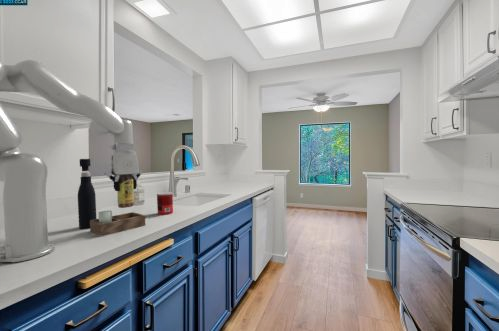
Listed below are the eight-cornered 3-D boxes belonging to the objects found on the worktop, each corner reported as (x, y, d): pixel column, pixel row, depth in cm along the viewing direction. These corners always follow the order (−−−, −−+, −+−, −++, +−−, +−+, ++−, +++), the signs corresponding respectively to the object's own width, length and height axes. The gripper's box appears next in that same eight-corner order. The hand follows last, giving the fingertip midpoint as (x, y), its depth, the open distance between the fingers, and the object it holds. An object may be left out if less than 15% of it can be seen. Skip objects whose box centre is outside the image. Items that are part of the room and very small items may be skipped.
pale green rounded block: (101, 231, 91) (101, 213, 91) (97, 229, 94) (96, 212, 94) (114, 228, 95) (113, 211, 95) (109, 226, 98) (109, 210, 98)
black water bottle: (98, 226, 102) (95, 158, 101) (80, 230, 97) (77, 158, 96) (94, 224, 106) (91, 159, 106) (77, 227, 102) (74, 159, 101)
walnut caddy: (101, 236, 88) (100, 224, 88) (90, 231, 95) (89, 220, 95) (145, 225, 102) (145, 215, 102) (133, 221, 109) (132, 212, 109)
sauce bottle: (127, 208, 97) (124, 161, 97) (114, 208, 99) (111, 161, 98) (137, 205, 104) (135, 161, 103) (125, 205, 105) (123, 161, 104)
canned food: (175, 211, 128) (174, 191, 128) (168, 215, 120) (167, 194, 120) (163, 211, 129) (162, 192, 129) (154, 215, 121) (153, 194, 121)
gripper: (105, 147, 91) (107, 193, 92) (147, 148, 105) (149, 187, 105) (97, 148, 96) (100, 191, 96) (139, 149, 110) (141, 187, 110)
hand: (125, 189), depth 101 cm, fingers closed on sauce bottle, 6 cm apart
